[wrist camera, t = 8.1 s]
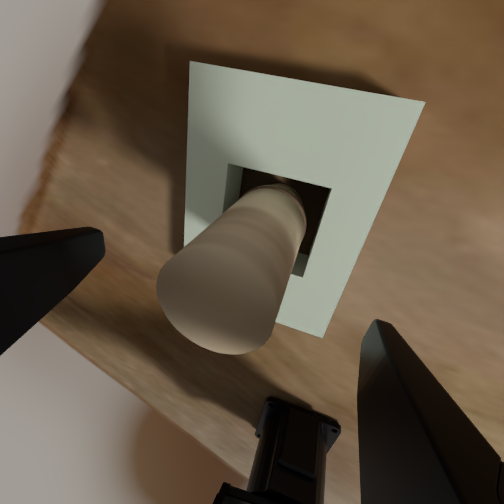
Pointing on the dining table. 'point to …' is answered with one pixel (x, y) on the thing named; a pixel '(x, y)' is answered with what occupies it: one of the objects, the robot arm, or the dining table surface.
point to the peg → (235, 272)
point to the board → (296, 166)
